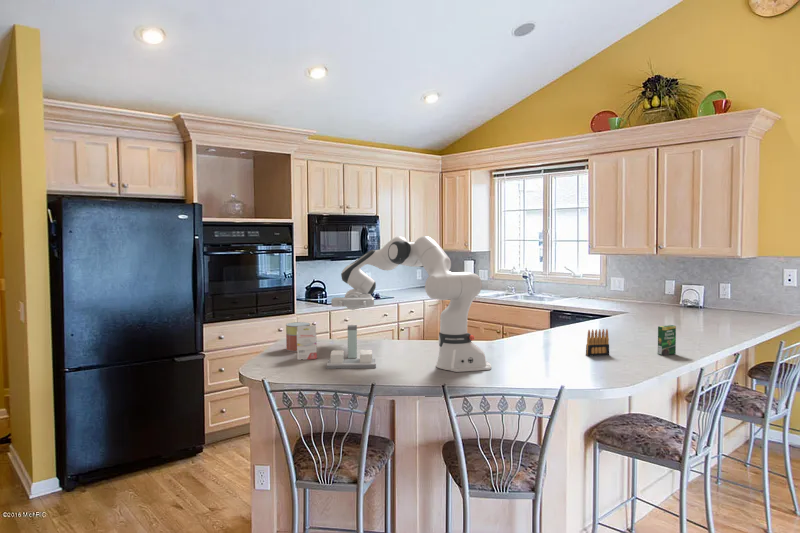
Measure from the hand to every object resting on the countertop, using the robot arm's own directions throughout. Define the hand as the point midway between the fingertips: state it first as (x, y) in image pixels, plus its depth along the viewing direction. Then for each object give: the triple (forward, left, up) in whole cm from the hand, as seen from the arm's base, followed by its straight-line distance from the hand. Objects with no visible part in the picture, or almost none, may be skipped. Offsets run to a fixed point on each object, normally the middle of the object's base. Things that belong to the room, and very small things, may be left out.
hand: (352, 304), depth 264 cm
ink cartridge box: (+20, +13, -22) cm, 33 cm away
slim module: (0, +12, -22) cm, 25 cm away
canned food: (+26, -7, -22) cm, 35 cm away
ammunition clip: (-110, +16, -22) cm, 113 cm away
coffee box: (-142, +16, -22) cm, 145 cm away
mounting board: (0, +27, -22) cm, 35 cm away
